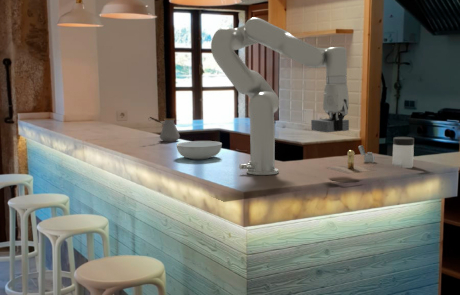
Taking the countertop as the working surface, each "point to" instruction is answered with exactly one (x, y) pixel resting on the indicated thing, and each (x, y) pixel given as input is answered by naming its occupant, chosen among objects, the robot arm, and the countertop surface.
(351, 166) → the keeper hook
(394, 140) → the jar
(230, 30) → the robot arm
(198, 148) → the serving bowl
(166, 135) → the coffee pot
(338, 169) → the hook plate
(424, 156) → the countertop surface
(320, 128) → the grey square frame
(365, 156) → the lighter
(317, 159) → the countertop surface
